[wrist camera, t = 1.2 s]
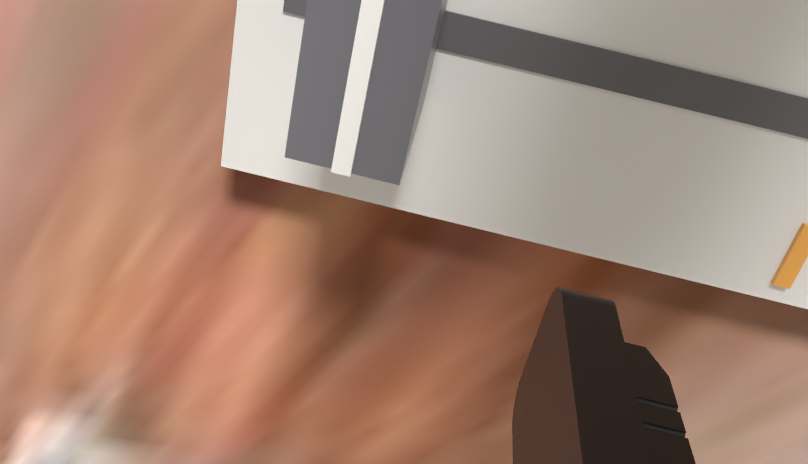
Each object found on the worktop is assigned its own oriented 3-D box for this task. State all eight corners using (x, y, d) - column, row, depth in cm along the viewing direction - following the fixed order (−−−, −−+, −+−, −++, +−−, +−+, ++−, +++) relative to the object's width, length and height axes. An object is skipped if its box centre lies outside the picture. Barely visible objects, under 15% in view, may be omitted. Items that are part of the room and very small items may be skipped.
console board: (282, -255, 22) (261, -263, 20) (1209, -31, 22) (1276, -18, 20) (238, 145, 29) (219, 168, 27) (961, 321, 29) (994, 357, 27)
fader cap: (359, -76, 22) (311, -45, 17) (459, -51, 22) (444, -12, 17) (332, 86, 25) (282, 160, 19) (422, 108, 24) (398, 188, 19)
